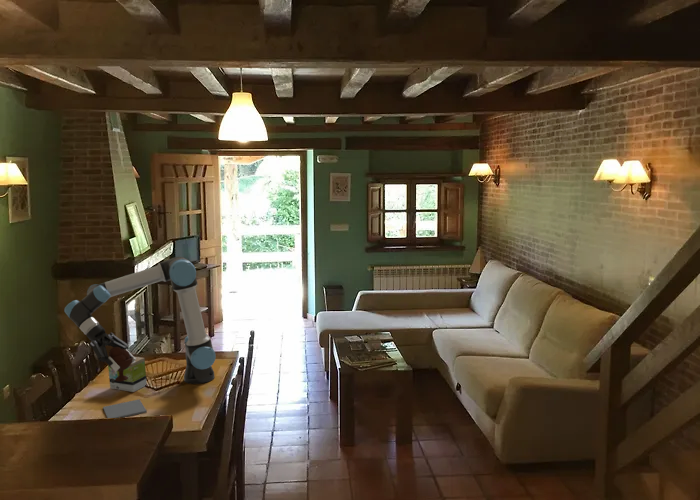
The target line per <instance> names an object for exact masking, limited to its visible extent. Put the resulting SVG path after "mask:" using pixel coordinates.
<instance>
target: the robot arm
mask: <svg viewBox="0 0 700 500" xmlns="http://www.w3.org/2000/svg"><path fill="white" fill-rule="evenodd" d="M169 281H170V284H171V286H172V287H171V289H172V290H173V291H174V292H175V293H176V294H177V299H178V303H179V307H180V310H181V314H182V318H183V323H184V327H185V331H186V334H187V336H186V337H184V348H185V361H186V363H185V364H186V367H185V370H184V371H185V372H184V375H183V381H184V383H186V384H189V385H199V384H204V383H210V382H211V381H213V380H214V379H215V371H214V369H213V367H212V365H214V363H215V361H216V351H215V350H214V348H213V344H212V341H211V340H212V339H211V336H209V335H208V334H207V331H206V328H205V323H204V320H203V315H202V311H201V306H200V302H199V299H198V293H197V290H196V287H198V280H197V269H196V267H195V265H194V263H192V262H191V261H190V260H189V259H187V258H186V257H184V256H175V257H172V258H170V259H167V260H165V261H161V262H159V263H158V264H157V265H155V266H152V267H150V268H146V269H143V270H140V271H137V272H133V273H130V274H126V275H124V276H121V277H118V278H117V277H116V278H114V279H111V280H109V281H108V280H107V281H104V282H102V283H99V284H96V283H95V284H91V285H90V286H89V287H88V288H87V291H86V296H84V297H83V298H82V299H81V300H80V301H79V300H78V299H75V300H72V301H71V302H69V303H67V304H66V306H65V307H64V313H65V314H66V315H67V317H68V318H69V320H71V321H72V322H73V323H74V325H76V327H77V328H79V329H80V331H81V332H83V334H84V335H86V337H87V338H88V339H89V341H90V343H89V346H90V347H91V348H92V350H93V352H94V354H95V355H96V357H97V359H98V361H99V362H102V363H106V364H107V366H108V365H109V366H111V367H112V368H113V370H114V371H115V372H116V371H117V370H118V369H119V368H120V367H119V366H118V364H117V363H116V362H115V361H114V360H113V359H112V358H111V357H110V356H109V353H108V352H107V348H106V346H109V347H112V348H114V347H120V348H121V349H125V350H127V351H128V352H129V354H130V356H132V357H133V361H132V363H133V362H134V361H135V360H136V358H135V357H136V356H134V355H133V354H132V352H130V350H129V349H128V347H129V344H128V343H126V342H125V341H124V340H122V339H120V338H119V337H117V336H116V335H115V334H114V333H113V332H110V333H109V334H108V333H106V329H105V328H104V327H103V325H101V324H100V322H99V321H98V320H97V319H96V318H95V317H94V316H93V315H92V314H93V313H94V312H96V311H97V309H99V308H100V307H101V306H102V305H104V304H105V303H106V302H107V301H108V300H109V299H110V298H112V297H116V296H118V295H121V294H125V293H128V292H131V291H134V290H137V289H140V288H144V287H146V286H149V285H153V284H155V283H159V282H169Z"/></svg>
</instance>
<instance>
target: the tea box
mask: <svg viewBox="0 0 700 500" xmlns="http://www.w3.org/2000/svg"><path fill="white" fill-rule="evenodd" d="M134 357H135V358H136V360H135V361H134V362H133V363H131V364H130V366H129V367H128V368H127V369H125V370H124V371H123V375H124V376H127V377H128V379H127V380H125V381H115V379H116V378H117V377H118V376H119V372H118V371H116V372H115V371H114V370H113V369H112V368H110V367H109V366H108V365H107V367H108V379H109V380H108V381H109V389H112V390H119V391H126V392H131V393H135V392H137V391H138V390H139V391H140V390H141V389H143V388H145V387H146V386H147V385H148V384H147V383H148V381H147V374H146V373H147V371H146V359H145V357H140V356H134ZM146 384H147V385H146ZM145 385H146V386H145Z"/></svg>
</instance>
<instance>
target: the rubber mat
mask: <svg viewBox="0 0 700 500" xmlns="http://www.w3.org/2000/svg"><path fill="white" fill-rule="evenodd" d="M102 410H103V411H104V414H105V416H106V418H107V419H108V418H119V417H123V418H128V417H133V416H137V415H140V414H141V415H142V414H145V413H147V409H146V407H145V405H144V404H143V402H142V401H141V399H134V400H129V401H123V402H120V403H116V404H110V405H106V406H102ZM119 419H120V418H119Z"/></svg>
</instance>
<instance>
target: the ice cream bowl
mask: <svg viewBox="0 0 700 500" xmlns="http://www.w3.org/2000/svg"><path fill="white" fill-rule="evenodd" d="M129 352H130V351H129ZM129 352H128V351H127V350H125V349H123V348H122V349H121V348H120V347H112V348H111V349H110V350H109V351H108V357H111V358H112V359H113V360H114V361H115V362H116V363H117V364H118V366H119V367H120V368H119V369H118V370H117V371H118V372H119V376H118V377H117V378H116V379H115V381H125V380H127V379H128V377H127V376H124V375H123V371H124V370H125V369H127V368H128V367H129V366H130V364H131V363H132V361H133V357H132V356H130V354H129ZM108 366H109V365H108V364H107V367H108ZM109 367H110V368H112V367H111V366H109ZM112 369H113V368H112Z"/></svg>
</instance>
